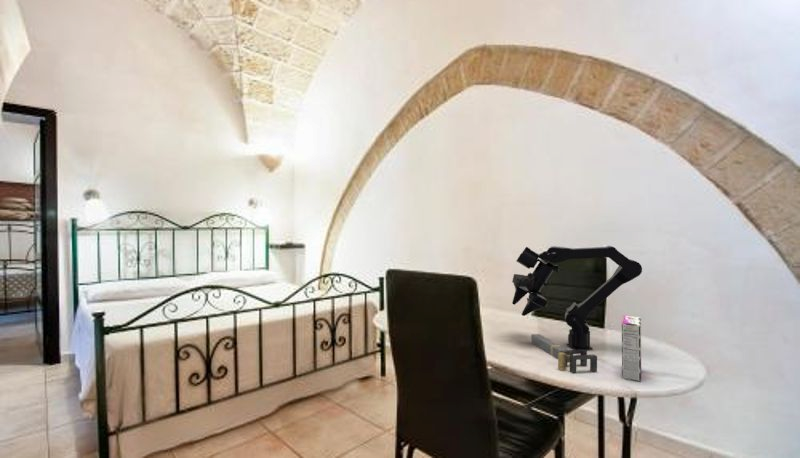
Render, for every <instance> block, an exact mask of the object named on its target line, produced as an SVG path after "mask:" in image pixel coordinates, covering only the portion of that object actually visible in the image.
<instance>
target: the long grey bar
mask: <svg viewBox="0 0 800 458" xmlns="http://www.w3.org/2000/svg"><path fill="white" fill-rule="evenodd" d="M530 337H531V340H530V341H531V344H532V345H535V346H536V347H537V348H539V349H541V350H543V351H544V352H545V353H547V354H549V355H550V356H552V357H554V358H555V359H556V360H558V353H561V350H568V349H567V348H565V347H563V346H562V345H560V344H559V343H556V342H554V341H553V340H552V339H549V338H548V337H545V336H543V335H542V334H540V333H533V334H532V333H531V336H530ZM567 355H571V356H572V355H574V354H567ZM568 363H569V364H570V358H567V364H568Z"/></svg>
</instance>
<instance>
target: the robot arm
mask: <svg viewBox="0 0 800 458" xmlns="http://www.w3.org/2000/svg"><path fill="white" fill-rule="evenodd" d="M595 258H597V259H599V258H600V259H601V258H609V259H610V260H611V261H613V262H614V263H615V264H616V265H617V266H618V267H617V268H616V269H615V270H614V272H613V275H611V277H610V278H608V279H607V280H606V281H605V282H604V283H603V284H601V285H600V286H599V287H598V288H597V289H596V290H595V291H593V292H592V293H591V294H590V295H589V296H588V297H587V298H586V299H584V300H583V301H581V302H580V303H578V304H577V303H576V302H575V301H574V302H572V304H571V305H570V306H569V307H567V308H566V312H565V314H564V319H565V323H566V324H567V326H569V327H570V328H571V329H569V331H568V334H567V343H566V346H568V347H570V348H572V349H573V350H580V349H584V350H586V351H587V350H593V347H592V346H591V331H590V327H589V324H588V322H587V321H586V320H587V319H588V317H589V316H590V314H591V312H592V311H593V310H594V309H595V308H597V307H598V306H599V305H600V304H601V303H602V302H604V301H605V300H606V299H607V298H608V297H609V296H610V295H612V294H613V293H614V292H615V291H616V290H618V289H619V288H620V287H621V286H623V285H624V284H626V283H629V282H631V281H633V280H634V279H637V277H639V276H640V275H641V274H642V272H643V267H642V265H641V264H640V262H638V261H636V260H634V259H629V258H628V257H627V256H625V255H624V254H622V252H620V251H619V250H618V249H617V248H616V247H614V246H611V245H607V246H599V247H598V246H597V247H596V246H595V247H579V248H577V247H574V248H573V247H572V248H571V247H564V246H554V245H553V246H550V247H548V249H547V250H546V251H544V252H540V253H537V252H536V251H534V250H532V249H531V248H530V247H528V246H525V248H524V249H523V251H522V252H521V253H520V254H519V255H518V257H517V259H516V262H517V263H518V264H519V265H522V266H524V267H525V268H527V269H529V270H530V269H534V270H533V272H528V274H527V275H524V274H519V273H514V274H513V278H512V281H511V282H512V283H513V286H514V289H515V292H514V295H513V298H512V302H511V303H512V305H516V304H518V303H519V301H521V300H522V299H523V298H524V297H526V295H527V294H528V297H527V298H526V301H527V302H526V304H525V307H524V308H523V310H522V312H521V316H523V317H525V316H527V315H528V314H530V313H532V312H534V311H537V310H538V309H540V308H541V309H543V308H544V309H546V307H547V306H548V304H549V301H548V300H547V298H546V297H544V296H543V295H542V292H541V290H542V289H543V287H544V286H545V287H546V286H547V285H548V280H549V278H550V276H551V275H552V273H553V272H556V273H560V269H559V264H556V263H561V262H565V261H569V260H572V259H573V260H575V259H595ZM545 261H546V262H545ZM537 263H538V264H537ZM553 263H555V264H553ZM536 265H537V266H536Z"/></svg>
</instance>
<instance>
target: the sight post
mask: <svg viewBox="0 0 800 458" xmlns="http://www.w3.org/2000/svg"><path fill="white" fill-rule="evenodd" d="M570 356H571V355H566V354H565V353H563V352H562V353H558V359H557V362H558V363H557V369H558V370H560V371H566V370H567V367H566V358H570Z"/></svg>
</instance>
